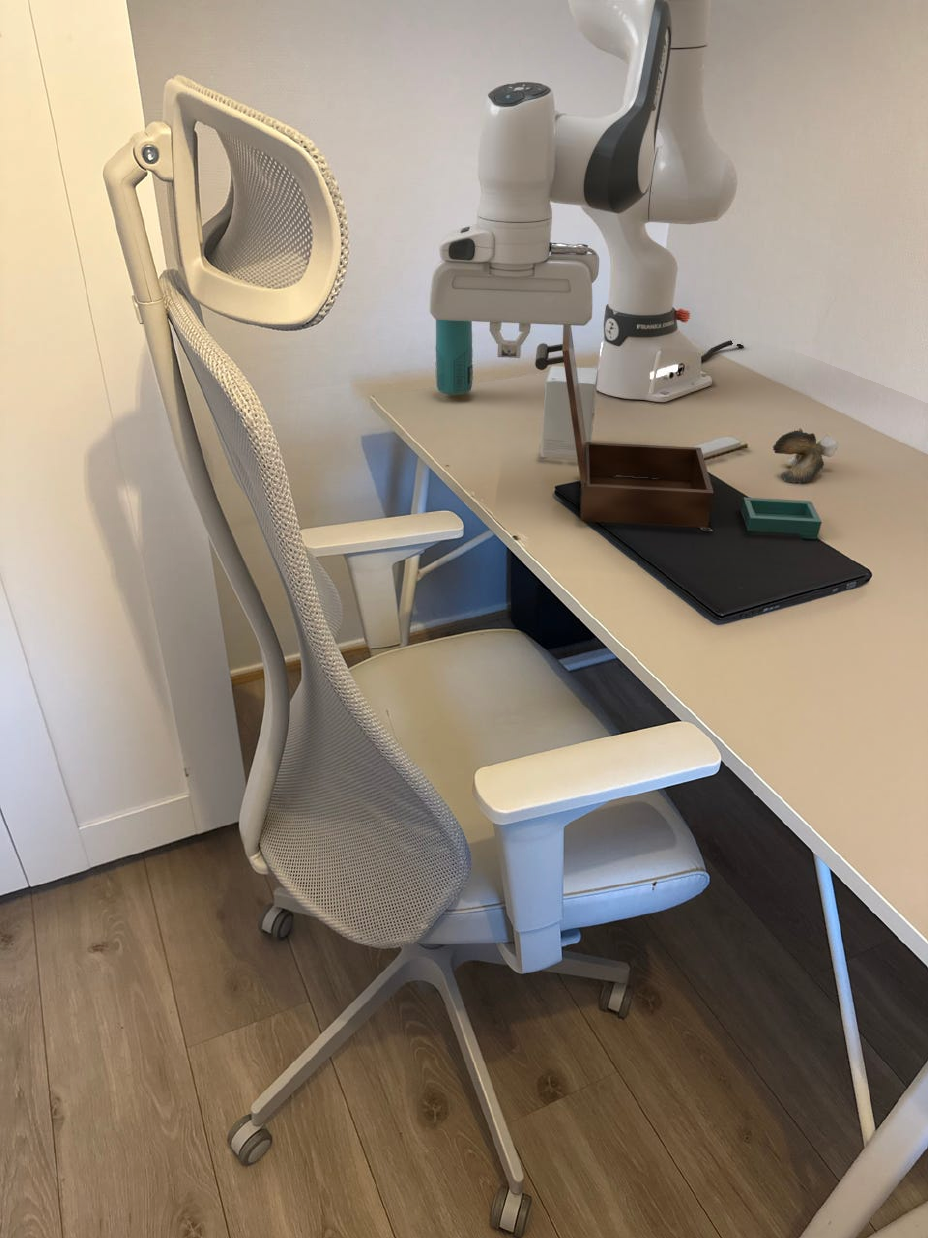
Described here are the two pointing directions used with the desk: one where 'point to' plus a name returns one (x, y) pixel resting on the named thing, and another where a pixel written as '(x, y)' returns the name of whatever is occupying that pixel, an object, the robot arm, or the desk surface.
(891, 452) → the desk surface
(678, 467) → the box
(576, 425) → the lid
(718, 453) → the harmonica
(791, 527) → the dish
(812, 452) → the eagle figurine
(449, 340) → the beverage bottle
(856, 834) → the desk surface
